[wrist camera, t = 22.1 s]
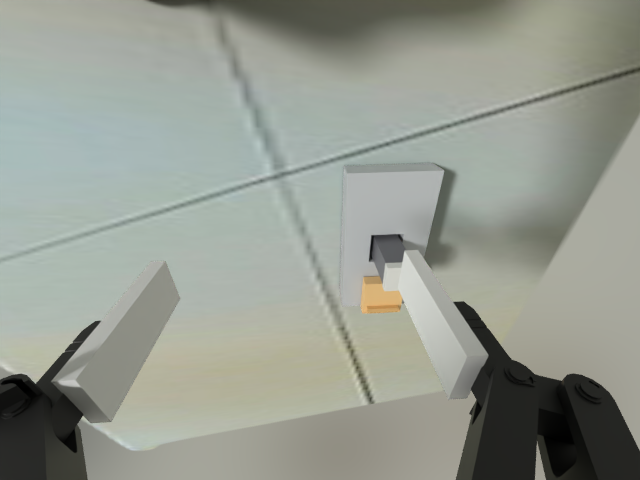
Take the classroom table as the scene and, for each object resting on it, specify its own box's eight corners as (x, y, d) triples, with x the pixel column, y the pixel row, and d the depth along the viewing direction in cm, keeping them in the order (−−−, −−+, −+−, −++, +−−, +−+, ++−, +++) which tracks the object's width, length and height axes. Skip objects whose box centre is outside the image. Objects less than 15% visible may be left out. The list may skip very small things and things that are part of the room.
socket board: (343, 165, 41) (347, 173, 37) (432, 162, 41) (444, 170, 38) (339, 292, 54) (342, 306, 51) (406, 288, 55) (413, 302, 51)
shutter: (363, 276, 47) (366, 287, 45) (401, 275, 47) (407, 285, 45) (360, 305, 51) (363, 316, 48) (396, 303, 51) (401, 314, 48)
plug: (369, 226, 47) (387, 268, 36) (392, 225, 47) (417, 266, 37) (367, 246, 49) (384, 291, 39) (389, 245, 49) (412, 289, 39)
